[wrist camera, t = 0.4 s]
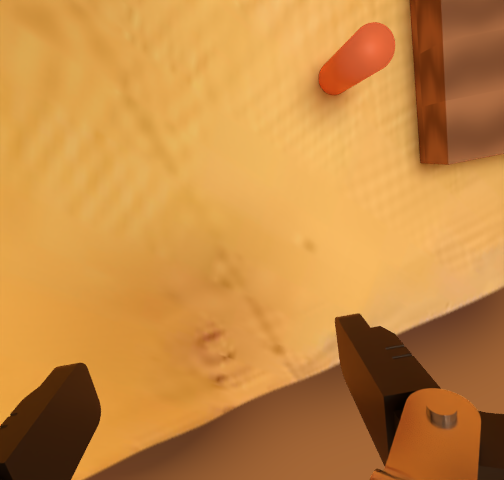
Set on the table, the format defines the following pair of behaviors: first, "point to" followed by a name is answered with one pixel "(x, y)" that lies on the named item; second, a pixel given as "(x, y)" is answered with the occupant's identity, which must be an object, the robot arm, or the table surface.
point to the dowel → (358, 58)
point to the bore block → (459, 78)
